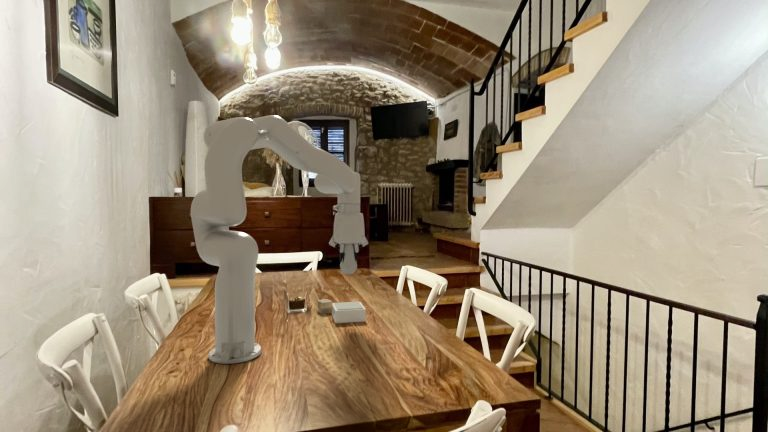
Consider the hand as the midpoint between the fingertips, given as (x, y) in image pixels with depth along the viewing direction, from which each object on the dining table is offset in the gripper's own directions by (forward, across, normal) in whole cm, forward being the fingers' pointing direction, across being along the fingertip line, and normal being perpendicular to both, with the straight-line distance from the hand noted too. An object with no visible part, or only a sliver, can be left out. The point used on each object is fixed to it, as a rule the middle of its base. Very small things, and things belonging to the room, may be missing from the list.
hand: (348, 263), depth 136 cm
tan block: (+19, -7, +9) cm, 22 cm away
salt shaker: (+3, 0, 0) cm, 3 cm away
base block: (+18, 0, 0) cm, 18 cm away
